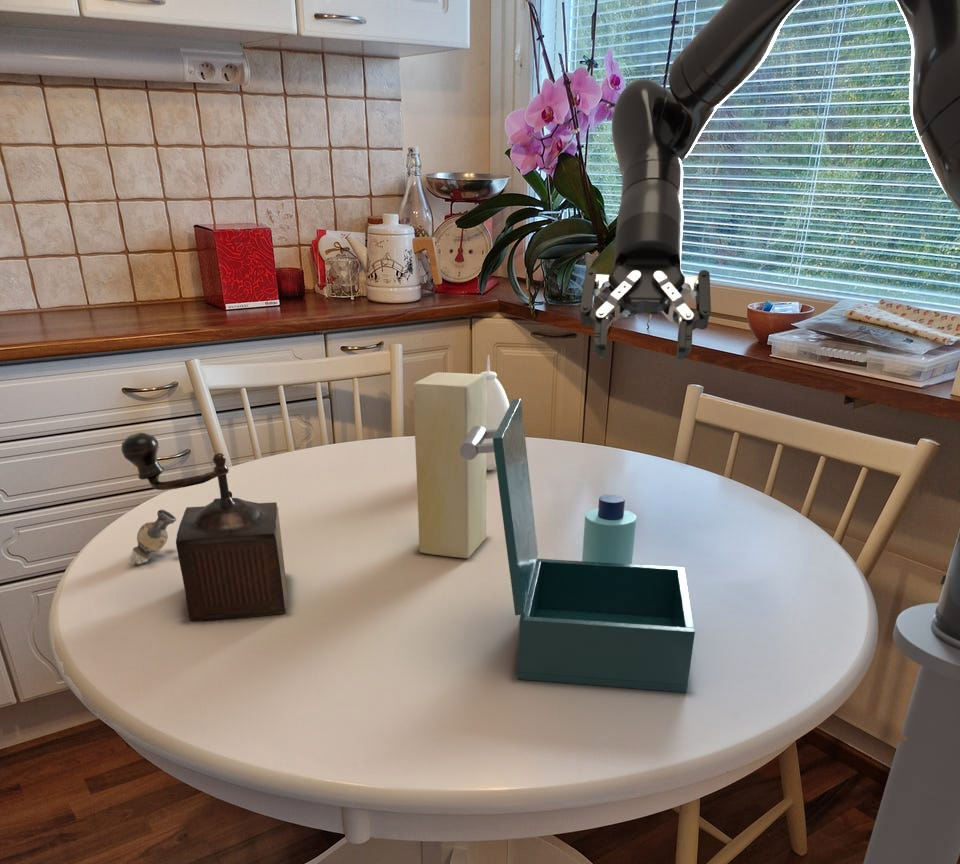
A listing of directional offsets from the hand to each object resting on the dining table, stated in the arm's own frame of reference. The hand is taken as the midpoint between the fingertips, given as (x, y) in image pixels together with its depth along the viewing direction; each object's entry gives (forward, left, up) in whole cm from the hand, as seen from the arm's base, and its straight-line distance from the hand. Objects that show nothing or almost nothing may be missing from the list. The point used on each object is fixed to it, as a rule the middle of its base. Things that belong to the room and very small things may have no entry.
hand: (641, 355), depth 93 cm
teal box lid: (+11, +23, -10) cm, 27 cm away
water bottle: (+2, +9, -25) cm, 26 cm away
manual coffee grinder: (+45, +18, -25) cm, 54 cm away
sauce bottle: (+22, -36, -25) cm, 49 cm away
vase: (+57, +8, -25) cm, 63 cm away
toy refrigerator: (+22, -2, -25) cm, 33 cm away
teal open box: (+2, +23, -25) cm, 33 cm away
